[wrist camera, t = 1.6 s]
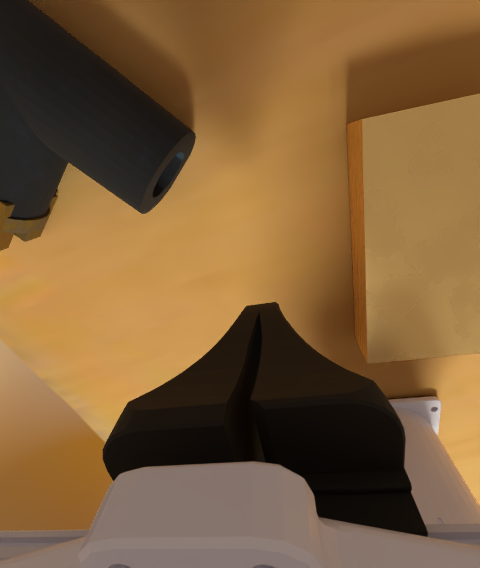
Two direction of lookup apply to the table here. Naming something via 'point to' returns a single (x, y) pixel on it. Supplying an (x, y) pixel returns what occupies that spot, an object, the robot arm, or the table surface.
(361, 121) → the tan flat block
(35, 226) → the pipe connector
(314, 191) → the table surface
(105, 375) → the table surface
